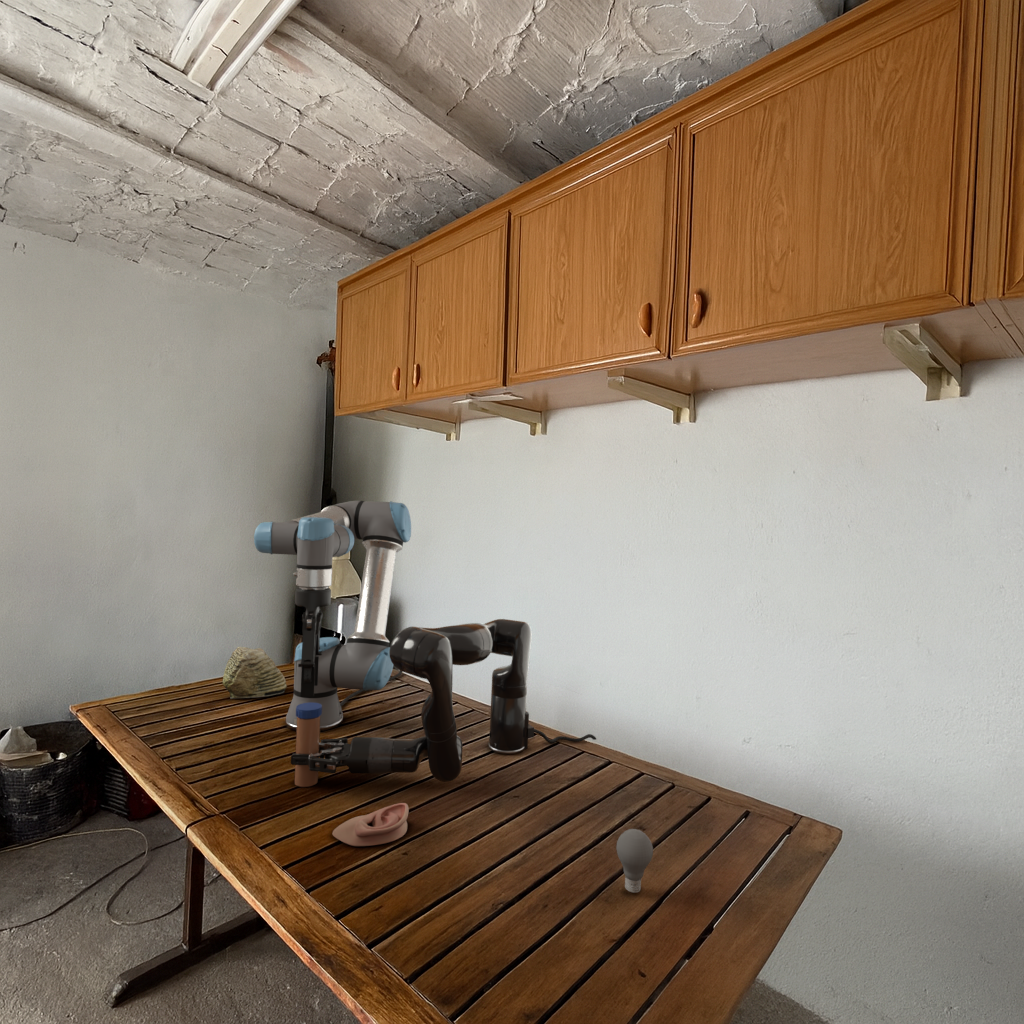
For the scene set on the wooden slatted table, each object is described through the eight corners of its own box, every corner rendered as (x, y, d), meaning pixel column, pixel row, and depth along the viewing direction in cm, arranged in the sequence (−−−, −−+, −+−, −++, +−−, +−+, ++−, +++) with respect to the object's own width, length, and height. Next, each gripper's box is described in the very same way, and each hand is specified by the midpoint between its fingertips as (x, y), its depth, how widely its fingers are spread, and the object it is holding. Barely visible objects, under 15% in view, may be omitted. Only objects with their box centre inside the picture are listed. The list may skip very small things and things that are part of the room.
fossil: (218, 695, 195) (220, 647, 195) (278, 685, 208) (279, 640, 207) (228, 703, 189) (230, 653, 188) (289, 692, 201) (290, 645, 201)
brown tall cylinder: (320, 777, 143) (323, 705, 142) (313, 787, 138) (316, 712, 138) (299, 776, 143) (301, 704, 143) (291, 786, 138) (293, 711, 138)
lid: (325, 711, 143) (325, 703, 143) (316, 719, 137) (317, 711, 137) (301, 710, 143) (301, 701, 143) (292, 718, 137) (292, 709, 137)
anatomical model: (325, 820, 116) (352, 792, 127) (324, 841, 116) (352, 812, 128) (392, 830, 114) (415, 801, 125) (392, 852, 114) (414, 821, 125)
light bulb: (610, 879, 108) (613, 822, 108) (644, 879, 109) (647, 822, 109) (619, 902, 102) (622, 840, 102) (655, 901, 103) (658, 840, 103)
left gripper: (301, 581, 149) (297, 678, 149) (289, 593, 129) (284, 705, 129) (334, 581, 150) (330, 677, 150) (327, 594, 130) (322, 704, 131)
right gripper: (378, 727, 148) (304, 725, 147) (368, 751, 134) (286, 750, 133) (376, 758, 148) (302, 757, 147) (366, 786, 134) (284, 785, 133)
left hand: (309, 690), depth 140 cm, fingers open, 7 cm apart
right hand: (295, 754), depth 140 cm, fingers closed on brown tall cylinder, 5 cm apart
